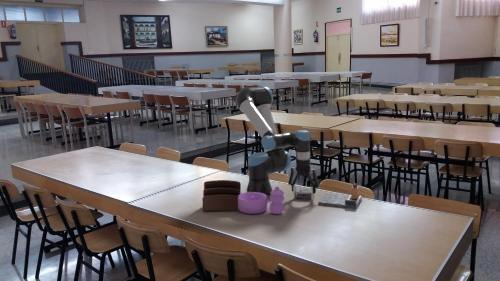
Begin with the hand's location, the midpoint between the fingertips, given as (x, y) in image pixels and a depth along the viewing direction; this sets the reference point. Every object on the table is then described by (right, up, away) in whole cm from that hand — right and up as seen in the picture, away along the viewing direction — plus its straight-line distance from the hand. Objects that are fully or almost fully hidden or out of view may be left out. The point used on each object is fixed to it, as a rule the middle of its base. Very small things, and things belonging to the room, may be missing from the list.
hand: (303, 197), depth 227 cm
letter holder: (-45, -4, -10) cm, 46 cm away
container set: (-24, -4, -16) cm, 29 cm away
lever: (+27, +1, -8) cm, 28 cm away
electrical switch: (+1, -1, 0) cm, 1 cm away
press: (+19, -1, -8) cm, 20 cm away
